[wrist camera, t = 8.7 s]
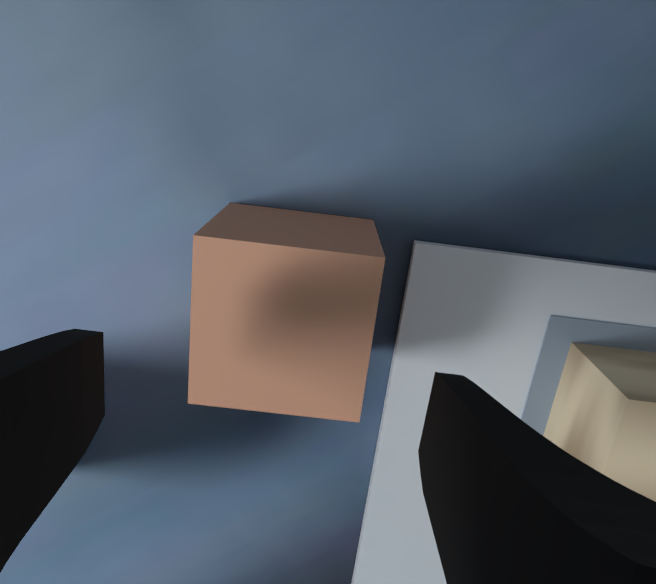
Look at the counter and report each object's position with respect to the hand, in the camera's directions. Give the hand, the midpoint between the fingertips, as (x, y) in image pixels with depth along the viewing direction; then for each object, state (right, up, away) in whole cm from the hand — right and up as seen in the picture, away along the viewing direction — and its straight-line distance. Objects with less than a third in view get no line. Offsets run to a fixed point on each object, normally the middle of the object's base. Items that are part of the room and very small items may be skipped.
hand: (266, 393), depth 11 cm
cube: (0, +3, +8) cm, 8 cm away
